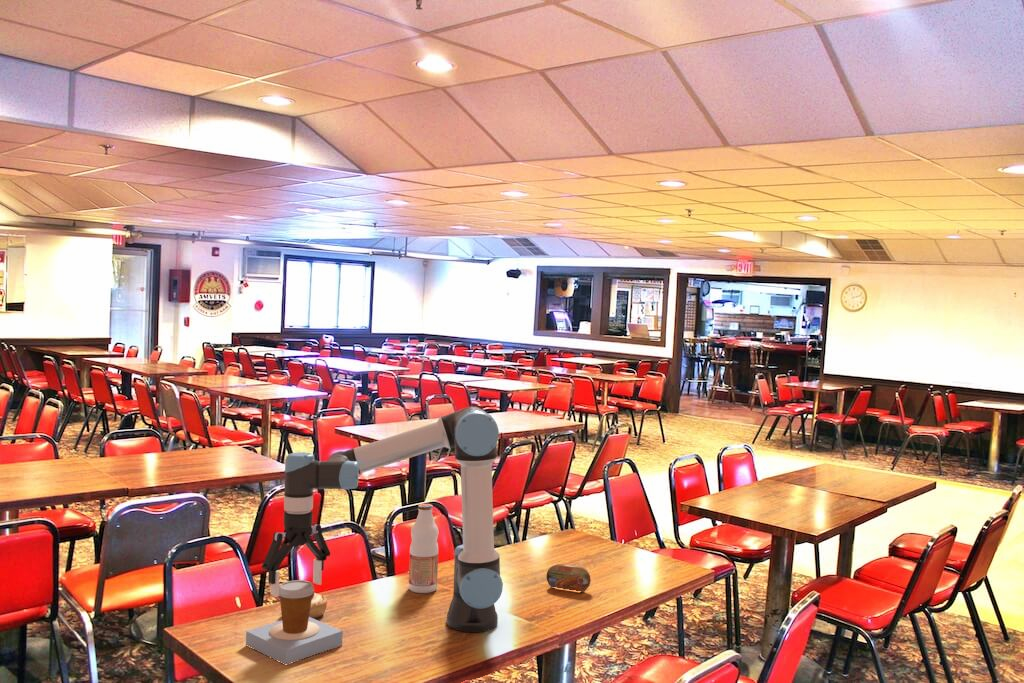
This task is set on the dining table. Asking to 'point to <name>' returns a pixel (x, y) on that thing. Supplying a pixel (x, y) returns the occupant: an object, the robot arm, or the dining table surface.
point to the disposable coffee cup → (295, 605)
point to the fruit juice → (423, 552)
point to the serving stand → (293, 640)
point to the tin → (568, 577)
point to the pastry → (317, 605)
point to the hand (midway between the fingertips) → (296, 589)
